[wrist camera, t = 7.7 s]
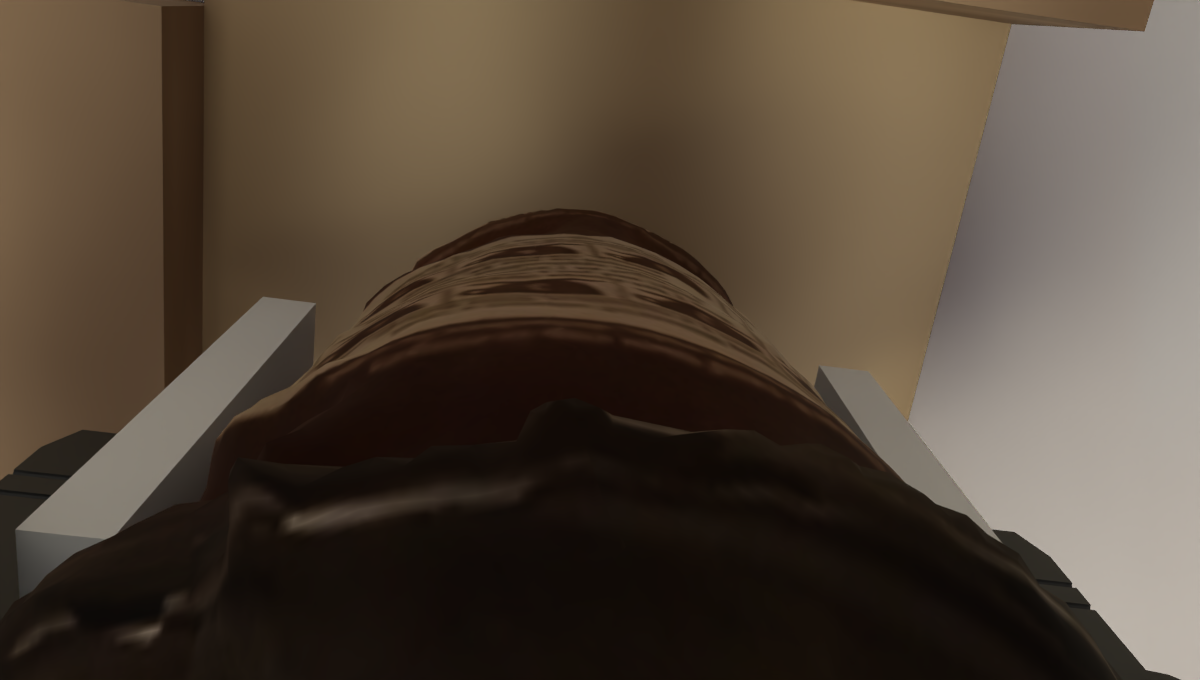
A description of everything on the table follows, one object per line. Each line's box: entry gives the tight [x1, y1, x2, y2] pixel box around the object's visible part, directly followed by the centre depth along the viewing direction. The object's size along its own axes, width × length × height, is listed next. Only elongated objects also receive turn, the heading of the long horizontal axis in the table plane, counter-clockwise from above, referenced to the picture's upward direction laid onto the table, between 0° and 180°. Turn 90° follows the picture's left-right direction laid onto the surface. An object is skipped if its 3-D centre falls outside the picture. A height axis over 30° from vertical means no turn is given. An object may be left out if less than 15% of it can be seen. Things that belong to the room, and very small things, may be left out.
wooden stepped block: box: [0, 0, 1154, 480], centre depth 16 cm, size 29×15×5 cm, turn 82°
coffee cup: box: [0, 208, 1122, 680], centre depth 10 cm, size 9×8×13 cm
